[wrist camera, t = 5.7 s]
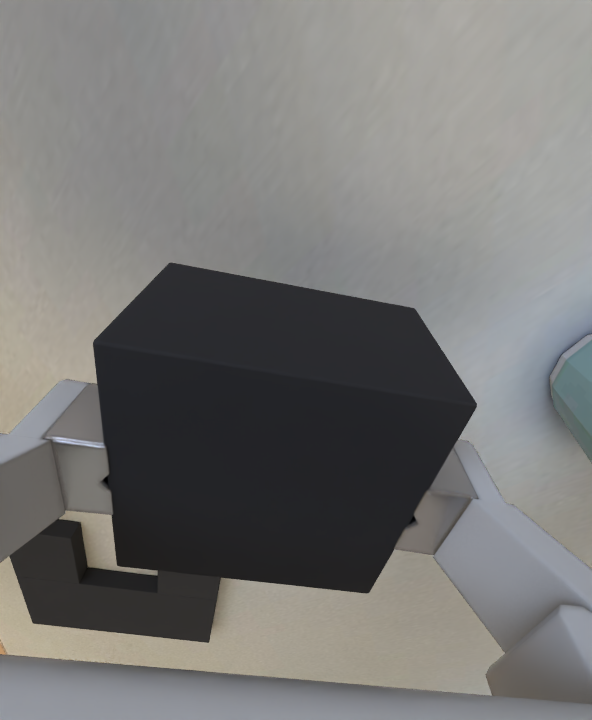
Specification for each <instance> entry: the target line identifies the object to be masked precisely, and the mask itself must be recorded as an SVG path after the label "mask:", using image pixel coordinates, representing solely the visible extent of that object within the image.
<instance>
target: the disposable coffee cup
mask: <svg viewBox="0 0 592 720" xmlns="http://www.w3.org/2000/svg"><path fill="white" fill-rule="evenodd" d="M549 378H550V388H551V397H552V398H553V404H554V408H555V409H556V411H557V412H558V414H559V415H560V417H561V418H562V420H563V421H564V423H565V424H566V425H567V427H568V428H569V430H570V431H571V433H572V434H573V436H574V437H575V439H576V440H577V442H578V443H579V445H580V446H581V448H582V449H583V451H584V452H585V454H586V455H587V457H588V458H589V460H590V461H591V463H592V334H589V335H586V336H585V337H584V338H583V339H581V340H580V341H579V342H578V343H576V344H575V345H574V346H573V347H571V348H570V349H569V350H567V351H566V352H565V353H564V354H562V356H561V357H560V359H559V361H558V363H557V365H556V366H555V368H554V370H553V372H552V374H551V375H550V377H549Z"/></svg>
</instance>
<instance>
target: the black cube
mask: <svg viewBox="0 0 592 720" xmlns="http://www.w3.org/2000/svg"><path fill="white" fill-rule="evenodd" d="M93 348H94V357H95V366H96V375H97V384H98V394H99V403H100V412H101V421H102V431H103V440H104V444H106V445H107V453H108V462H109V470H110V473H109V474H108V475H107V477H108V486H109V487H110V489H111V490H112V501H113V512H114V513H113V515H112V523H113V532H114V542H115V551H116V560H117V565H118V566H121V567H130V568H139V569H148V570H158V571H167V572H176V573H185V574H194V575H203V576H212V577H222V578H231V579H240V580H249V581H258V582H267V583H276V584H286V585H295V586H304V587H313V588H322V589H331V590H340V591H350V592H359V593H369V592H370V590H371V589H372V587H373V585H374V583H375V582H376V580H377V578H378V577H379V575H380V573H381V571H382V570H383V568H384V566H385V564H386V563H387V561H388V559H389V558H390V556H391V554H392V552H393V551H394V546H395V544H396V542H397V541H398V539H399V537H400V535H401V534H402V532H403V530H404V528H405V527H406V526H408V525H409V523H410V521H411V519H412V518H413V516H414V511H415V509H416V507H417V506H418V504H419V502H420V501H421V499H422V497H423V495H424V494H425V492H426V490H428V489H429V488H430V487H431V485H432V483H433V481H434V480H435V478H436V476H437V475H438V473H439V471H440V469H441V468H442V466H443V464H444V462H445V461H446V459H447V457H448V456H449V454H450V452H451V450H452V449H453V447H454V445H455V443H456V442H457V440H458V438H459V437H460V435H461V433H462V431H463V430H464V428H465V426H466V424H467V423H468V421H469V419H470V418H471V416H472V414H473V412H474V411H475V409H476V407H477V403H476V402H475V400H474V399H473V397H472V396H471V394H470V393H469V391H468V390H467V388H466V386H465V385H464V383H463V382H462V380H461V379H460V377H459V376H458V374H457V373H456V371H455V370H454V368H453V366H452V365H451V363H450V362H449V360H448V359H447V357H446V356H445V354H444V353H443V351H442V350H441V348H440V346H439V345H438V343H437V342H436V340H435V339H434V337H433V336H432V334H431V333H430V331H429V330H428V328H427V327H426V325H425V323H424V322H423V320H422V319H421V317H420V316H419V314H418V313H417V311H416V310H415V309H414V308H410V307H404V306H399V305H394V304H388V303H383V302H378V301H373V300H367V299H362V298H357V297H351V296H346V295H341V294H335V293H330V292H325V291H319V290H314V289H309V288H303V287H298V286H293V285H288V284H282V283H277V282H272V281H266V280H261V279H256V278H250V277H245V276H240V275H234V274H229V273H224V272H219V271H213V270H208V269H203V268H197V267H192V266H187V265H181V264H176V263H169V264H168V265H167V266H166V267H165V268H164V269H163V270H162V271H161V272H160V273H159V274H158V275H157V276H156V277H155V278H154V279H153V280H152V281H151V282H150V283H149V284H148V286H147V287H146V288H145V289H144V290H143V291H142V292H141V293H140V294H139V295H138V296H137V297H136V298H135V299H134V300H133V301H132V302H131V303H130V304H129V305H128V306H127V307H126V308H125V309H124V310H123V311H122V312H121V313H120V314H119V315H118V316H117V317H116V318H115V319H114V320H113V322H112V323H111V324H110V325H109V326H108V327H107V328H106V329H105V330H104V331H103V332H102V333H101V334H100V335H99V336H98V337H97V338H96V339H95V340H94V342H93Z"/></svg>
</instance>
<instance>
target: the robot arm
mask: <svg viewBox="0 0 592 720" xmlns="http://www.w3.org/2000/svg"><path fill="white" fill-rule="evenodd" d="M109 473H110V470H109V462H108V453H107V445H106V444H104V440H103V431H102V421H101V412H100V403H99V394H98V384H95V383H92V384H91V383H87V382H81V381H75V380H69V379H65V380H62V381H60V382H58V383H57V384H56V385H55V386H54V387H53V388H52V389H51V390H50V391H49V392H48V394H47V395H46V396H45V397H44V398H43V399H42V400H41V401H40V402H39V403H38V404H37V405H36V406H35V407H34V408H33V409H32V410H31V411H30V412H29V413H28V414H27V415H26V416H25V417H24V418H23V420H22V421H21V422H20V423H19V424H18V425H17V426H16V427H15V428H14V429H13V430H12V431H11V432H10V433H9V434H1V433H0V562H2V561H3V560H4V559H6V558H7V557H8V556H10V555H11V554H12V553H14V552H15V551H16V550H18V549H19V548H20V547H22V546H23V545H24V544H25V543H27V542H28V541H29V540H31V539H32V538H33V537H35V536H36V535H37V534H39V533H40V532H41V531H43V530H44V529H45V528H47V527H48V526H49V525H50V524H52V523H53V522H54V521H56V520H57V519H58V518H60V517H61V516H62V515H64V514H65V510H67V511H77V512H88V513H98V514H109V515H113V513H114V512H113V501H112V490H111V489H110V487H109V486H108V477H107V475H108V474H109ZM394 549H396V550H403V551H410V552H416V553H423V554H429V555H434V556H433V558H434V559H435V560H436V562H437V563H438V564H439V566H440V567H441V568H442V570H443V571H444V572H445V574H446V575H447V576H448V578H449V579H450V580H451V582H452V583H453V584H454V586H455V587H456V588H457V590H458V591H459V592H460V594H461V595H462V596H463V598H464V599H465V600H466V602H467V603H468V604H469V606H470V607H471V608H472V610H473V611H474V612H475V613H476V615H477V616H478V617H479V619H480V620H481V621H482V623H483V624H484V625H485V627H486V628H487V629H488V631H489V632H490V633H491V635H492V636H493V637H494V639H495V640H496V641H497V643H498V644H499V645H500V647H501V648H502V649H503V651H504V652H505V654H504V655H503V656H502V657H500V658H499V659H498V660H497V661H496V662H495V663H494V664H493V665H491V666H490V667H489V669H488V671H487V673H486V678H487V681H488V684H489V687H490V690H491V693H492V696H489V695H477V694H465V693H453V692H442V691H430V690H418V689H406V688H394V687H382V686H370V685H359V684H347V683H335V682H323V681H311V680H299V679H288V678H276V677H264V676H252V675H240V674H228V673H217V672H205V671H193V670H181V669H169V668H157V667H146V666H134V665H122V664H110V663H98V662H86V661H74V660H62V659H50V658H38V657H26V656H15V655H2V654H0V720H592V569H591V568H590V567H589V566H587V565H586V564H585V563H584V562H583V561H581V560H580V559H579V558H578V557H576V556H575V555H574V554H573V553H572V552H570V551H569V550H568V549H567V548H565V547H564V546H563V545H562V544H561V543H559V542H558V541H557V540H556V539H555V538H553V537H552V536H551V535H550V534H548V533H547V532H546V531H545V530H544V529H542V528H541V527H540V526H539V525H537V524H536V523H535V522H534V521H533V520H531V519H530V518H529V517H528V516H527V515H525V514H524V513H523V512H522V511H520V510H519V509H518V508H517V507H516V506H514V505H513V504H507V503H505V501H504V499H503V498H502V496H501V494H500V492H499V490H498V489H497V487H496V485H495V483H494V481H493V480H492V478H491V476H490V474H489V473H488V471H487V469H486V467H485V465H484V464H483V462H482V460H481V458H480V456H479V455H478V453H477V451H476V449H475V448H474V446H473V445H472V444H471V443H470V442H469V441H465V440H457V442H456V443H455V445H454V447H453V449H452V450H451V452H450V454H449V456H448V457H447V459H446V461H445V462H444V464H443V466H442V468H441V469H440V471H439V473H438V475H437V476H436V478H435V480H434V481H433V483H432V485H431V487H430V488H429V489H428V490H426V492H425V494H424V495H423V497H422V499H421V501H420V502H419V504H418V506H417V507H416V509H415V511H414V516H413V518H412V519H411V521H410V523H409V525H408V526H406V527H405V528H404V530H403V532H402V534H401V535H400V537H399V539H398V541H397V542H396V544H395V546H394Z"/></svg>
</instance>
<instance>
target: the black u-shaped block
mask: <svg viewBox="0 0 592 720" xmlns="http://www.w3.org/2000/svg"><path fill="white" fill-rule="evenodd" d="M10 559H11V562H12V565H13V568H14V571H15V573H16V576H17V579H18V582H19V585H20V588H21V590H22V593H23V596H24V599H25V602H26V605H27V608H28V611H29V614H30V616H31V619H32V622H33V623H34V624H43V625H52V626H62V627H71V628H80V629H89V630H98V631H107V632H116V633H125V634H134V635H143V636H153V637H162V638H171V639H180V640H189V641H198V642H207V643H209V639H210V634H211V629H212V623H213V617H214V612H215V606H216V601H217V595H218V589H219V584H220V578H221V577H212V576H203V575H194V574H185V573H176V572H167V571H158V577H157V576H149V575H141V574H132V573H124V572H116V571H108V570H100V569H92V568H87V563H86V557H85V551H84V544H83V538H82V532H81V526H80V523H79V522H72V521H65V520H56V521H54V522H53V523H52V524H50V525H49V526H48V527H47V528H45V529H44V530H43V531H41V532H40V533H39V534H37V535H36V536H35V537H33V538H32V539H31V540H29V541H28V542H27V543H25V544H24V545H23V546H22V547H20V548H19V549H18V550H16V551H15V552H14V553H12V554H11V555H10Z"/></svg>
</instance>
